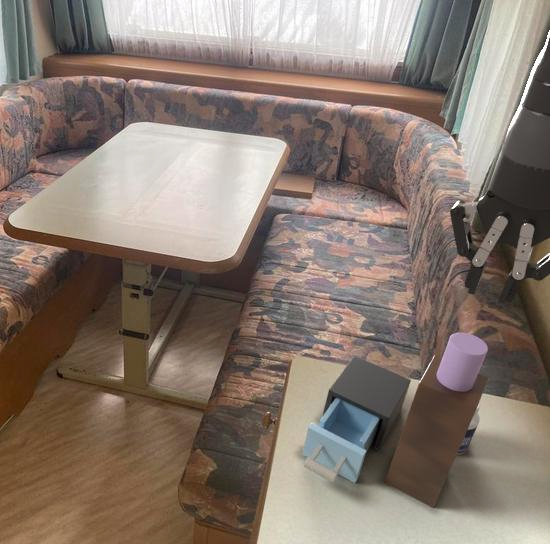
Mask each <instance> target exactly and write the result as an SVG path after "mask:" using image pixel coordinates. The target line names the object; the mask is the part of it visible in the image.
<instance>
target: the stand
mask: <svg viewBox="0 0 550 544" xmlns="http://www.w3.org/2000/svg"><path fill="white" fill-rule="evenodd" d="M442 358H443V357H442ZM442 358H441V357H439V356H437V355H433V357H432V358H431V360H430V363H429V364H428V366H427V367H426V369H425V371H424V374H423V375H422V377H421V378H420V381H419V382H418V385H417V387H416V392H415V394H414V396H413V399H412V402H411V405H410V408H409V411H408V412H407V413H408V414H407V416H406V419H405V422H404V425H403V428H402V430H401V434H400V436H399V439H398V442H397V444H396V449H395V450H394V453H393V456H392V459H391V462H390V465H389V468H388V471H387V473H386V476H385V478H384V483H385V484H386V485H388V486H390V487H392V488H394V489H396V490H398V491H399V492H401V493H403V494H405V495H407V496H409V497H411V498H413V499H415V500H416V501H418V502H421V503H423V504H424V505H426V506H428V507H430V508H432V509H434V507H435V506H436V504H437V501H438V499H439V497H440V494H441V491H442V489H443V488H444V485H445V482H446V481H447V478H448V476H449V474H450V471H451V470H452V469H451V468H452V466H453V464H454V462H455V459H456V457H457V456H458V455H457V453H458V450H459V448H460V446H461V443H462V441H463V439H464V437H465V434H466V432H467V430H468V427H469V425H470V423H471V420H472V418H473V416H474V414H475V411H476V409H477V407H478V404H479V402H480V401H481V399H482V397H483V394H484V392H485V389H486V386H487V384H488V381H489V377H488V376H486V375H484V374H482V373H480V372H479V373H478V375H477V378H476V380H475V382H474V385H473V387H472V389H471V390H469V391H466V392H458V391H454V390H451V389H449V388H447V387H445V386H444V385H442V384H441V383H440V382H439V380H438V379H437V371H438V369H439V366H440V363H441V361H442Z"/></svg>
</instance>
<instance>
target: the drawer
mask: <svg viewBox="0 0 550 544" xmlns="http://www.w3.org/2000/svg"><path fill="white" fill-rule="evenodd" d="M322 416H323V415H322ZM381 420H382V419H381V418H379V417H377V416H375V415H372V414H370V413H368V412H366V411H364V410H362V409H360V408H358V407H356V406H353V405H351V404H349V403H347V402H345V401H343V400H341V399H339V398H337V397H336V399H335V400H334V401H333V403H332V404H331V406H330V407H329V409H328V410H327V411H326V413H325V414H324V416H323V417H321V418H320V420H319V422H318V425H317V424H315V423H314V422H311V423H310V424H309V426H308V428H307V432H306V436H305V441H304V445H303V449H302V454H301V455H302V456H303V457H305V458H306V459H305V461H304V463H303V467H304V468H306V469H308V471H309V470H310V471H311V472H313V473H315V474H316V475H318V476H320V477H322V478H324V479H325V480H327V481H328V482H329V481H330V482H331V483H333V484H335V483H336V480H337V479H338V476H341V477H342V478H345V479H346V480H348V481H350V482H351V483H354V484H356V483H357V481H358V479H359V476H360V473H361V470H362V467H363V463H364V461H365V457H366V455H367V452H368V450H369V449H370V447H371V445H372V444H373V442H374V440H375V437H376V434H377V432H378V429H379V426H380V422H381Z"/></svg>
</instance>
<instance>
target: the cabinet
mask: <svg viewBox="0 0 550 544" xmlns="http://www.w3.org/2000/svg"><path fill="white" fill-rule="evenodd" d="M411 381H412V380H411V379H410V378H408V377H405V376H403V375H401V374H398V373H396V372H394V371H392V370H389V369H387V368H384V367H382V366H379V365H377V364H375V363H372V362H370V361H368V360H366V359H363V358H361V357H359V356H357V355H354V356H352V358H351V359H350V361H349V362H348V364H346V366H345V367H344V369H343V370H342V371H341V373H340V374H339V375H338V377H337V378H336V379H335V381H334V382H333V383H332V385H331V386H330V387H329V389H328V392H327V395H326V399H325V403H324V407H323V413H322V417H323V416H324V414H325V413H326V411H327V410H328V409H329V407H330V406H331V404H332V403H333V401H334V400H335V399H336V397H337V398H339V399H341V400H343V401H345V402H347V403H349V404H351V405H353V406H356V407H358V408H360V409H362V410H364V411H366V412H368V413H370V414H372V415H375V416H377V417H379V418H381V419H380V420H382V421H381V424H380V428H379V431H378V433H377V436H376V440H375V443H374V446H373V448H374V449H376V450H380V449H381V447H382V445H383V444H384V442H385V440H386V438H387V436H388V434H389V433H390V431H391V429H392V427H393V426H394V424H395V422H396V420H397V418H398V417H399V414H400V413H401V412H402V408H403V405H404V403H405V399H406V396H407V394H408V390H409V388H410V385H411ZM322 417H321V418H322Z"/></svg>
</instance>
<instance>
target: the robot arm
mask: <svg viewBox="0 0 550 544" xmlns="http://www.w3.org/2000/svg"><path fill="white" fill-rule="evenodd" d="M522 95H523V96H522V97H521V101H520V104H519V106H518V108H517V111H516V112H515V115H514V116H513V118H512V120H511V123H510V125H509V127H508V130H507V133H506V135H505V138H504V140H503V143H502V148H501V150H500V153H499V155H498V159H497V161H496V164H495V167H494V170H493V173H492V175H491V179H490V180H489V184H488V186H487V189H486V192H485V193H484V194H483V195H482V196H481V197H480V198H479V199H478V201H472V202H471V201H470V202H466V201H464V200H458V201H456V203H455V204H454V205H453V206H452V207H451V209H450V210H449V213H450V221H451V226H452V230H453V235H454V241H455V246H456V252H457V254H458V255H459V257H462V258H466V259H467V260H468V261H469V262H470V267H469V269H468V272H467V274H466V278H465V281H464V288H466V289H468V290H467V294H470V295H472V296H475V294H476V293H477V290H478V288H479V286H480V283H481V280H482V278H483V276H484V272H485V269H486V267H487V264H488V261H487V259H488V257H489V255H490V254H491V252H492V250H493V249H494V247H495V245H496V244H503V245H504V244H505V245H508V246H510V247H512V248H514V249H516V250H515V251H516V252H515V255H514V262H513V268H512V269H511V270H510V271H509V274H508V276H507V278H506V281H505V283H504V286H503V288H502V290H501V293H500V296H499V299H498V300H497V305H498V304H499V305H502V306H505V304H506V302H508V303H512V302H514V300H515V299H516V296H517V293H518V291H519V289H520V287H521V284H522V281H524V280H526V279H533V280H535V281H537V282H538V281H543V280H544V279H545V278H547V277H548V276H550V252H549V253H547V254H546V255H545V256H544V257H542V259H540V260H539V261H537V262H530V260H531V255H532V252H533V249H534V247H536V246H538V245H539V244H541V243H543V242H544V241H546V240H548V239H550V31H549V32H548V35H547V39H546V42H545V45H544V47H543V49H542V50H541V51H540V53H539V55H538V57H537V59H536V61H535V63H534V66H533V67H532V70H531V72H530V76H529V78H528V81H527V84H526V87H525V89H524V93H523V94H522ZM476 213H477V214H478V217H479V219H480V222H481V225H482V227H483V229H484V232H485V234H486V236H485V237H484V239H483V241H482V242H481V244H480V245H479V246H477V245H475V244H474V237H473V233H472V226H471V222H472V221H473V219H474V218H475V214H476Z"/></svg>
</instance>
